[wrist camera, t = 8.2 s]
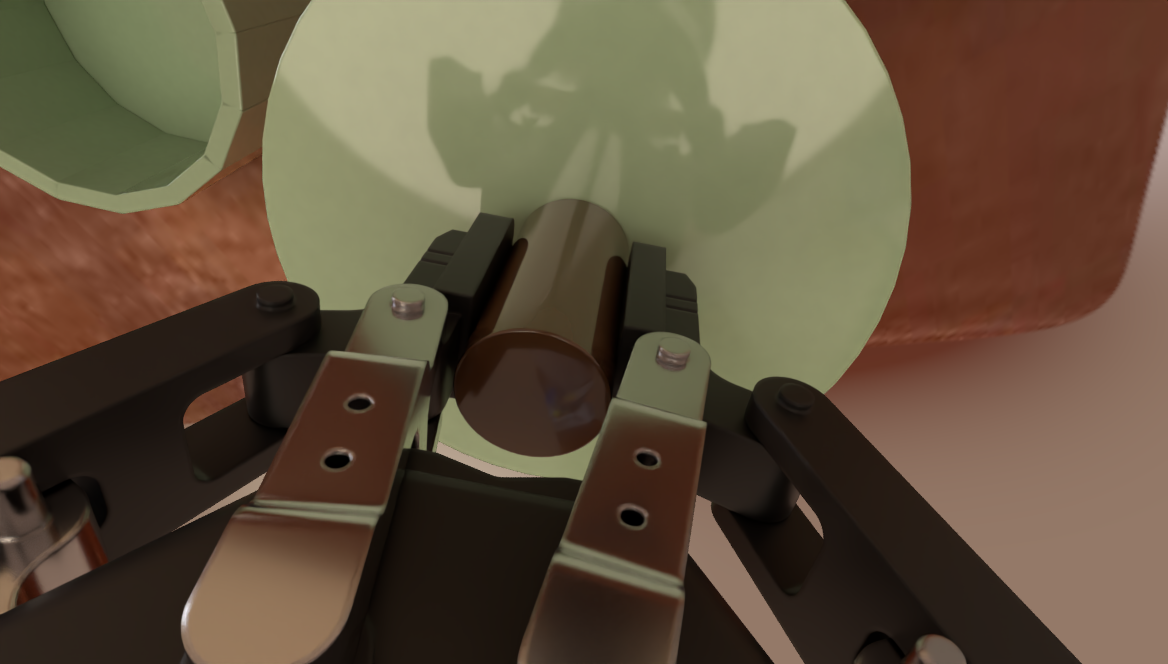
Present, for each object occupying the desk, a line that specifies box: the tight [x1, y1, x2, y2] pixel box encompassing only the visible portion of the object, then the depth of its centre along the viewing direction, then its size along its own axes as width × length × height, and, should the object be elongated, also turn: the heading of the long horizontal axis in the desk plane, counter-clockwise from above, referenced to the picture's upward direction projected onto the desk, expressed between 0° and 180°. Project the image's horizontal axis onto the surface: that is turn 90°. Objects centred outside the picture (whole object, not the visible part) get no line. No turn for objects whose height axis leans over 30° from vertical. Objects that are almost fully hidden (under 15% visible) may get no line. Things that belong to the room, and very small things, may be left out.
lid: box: [262, 0, 911, 481], centre depth 14 cm, size 15×15×7 cm
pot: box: [0, 0, 311, 214], centre depth 27 cm, size 14×14×8 cm
